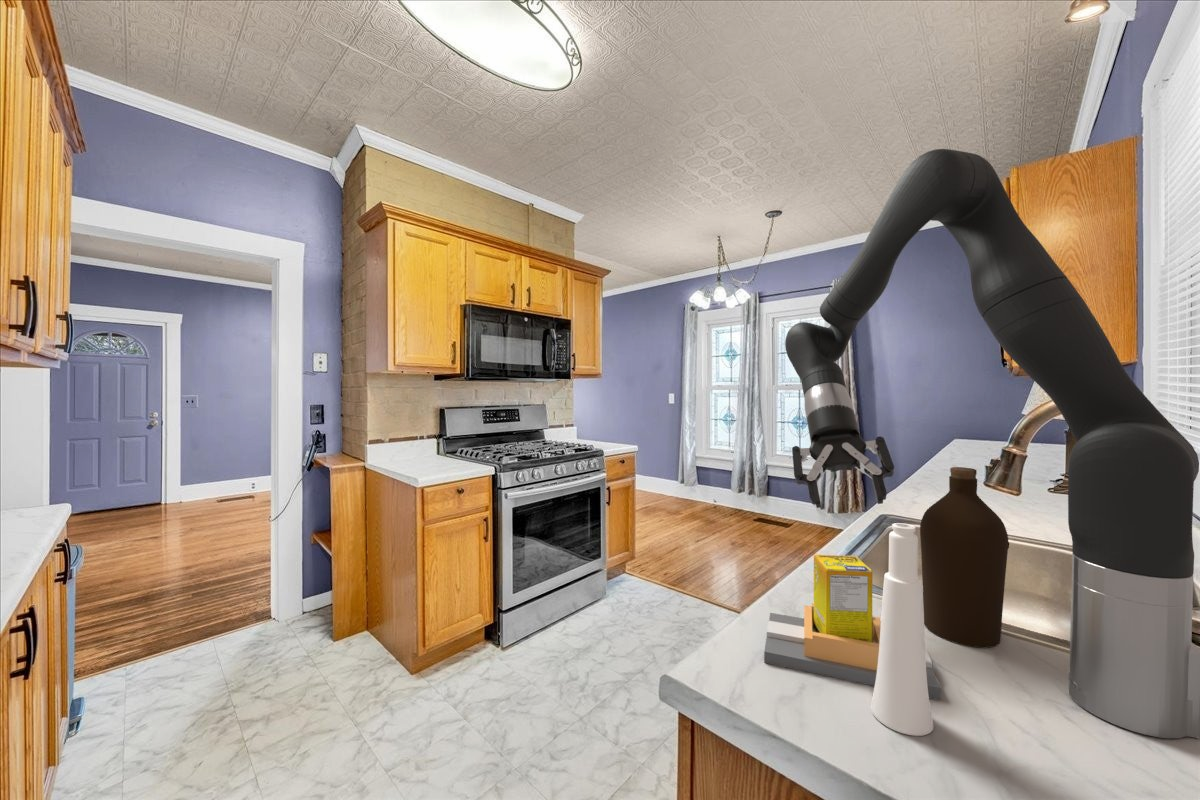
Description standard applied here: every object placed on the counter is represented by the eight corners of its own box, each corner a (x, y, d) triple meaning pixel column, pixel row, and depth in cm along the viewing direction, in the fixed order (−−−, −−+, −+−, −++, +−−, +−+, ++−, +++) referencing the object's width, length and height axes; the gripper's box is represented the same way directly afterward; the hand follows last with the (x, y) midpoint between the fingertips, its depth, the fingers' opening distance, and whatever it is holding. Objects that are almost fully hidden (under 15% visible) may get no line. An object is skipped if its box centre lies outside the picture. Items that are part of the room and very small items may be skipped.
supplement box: (855, 629, 69) (855, 554, 69) (873, 652, 63) (874, 570, 63) (812, 626, 70) (812, 553, 70) (825, 649, 64) (826, 568, 64)
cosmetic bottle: (939, 743, 50) (943, 536, 49) (874, 727, 52) (876, 529, 52) (926, 707, 55) (929, 521, 55) (867, 694, 58) (869, 515, 57)
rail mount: (918, 648, 68) (918, 617, 68) (940, 700, 57) (941, 663, 57) (770, 621, 76) (770, 594, 76) (764, 662, 65) (764, 629, 65)
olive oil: (953, 651, 67) (956, 475, 66) (903, 615, 78) (905, 463, 77) (1026, 650, 67) (1030, 474, 66) (966, 614, 78) (969, 462, 77)
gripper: (783, 410, 82) (797, 498, 73) (877, 396, 77) (904, 490, 67) (788, 431, 88) (801, 516, 78) (876, 420, 82) (901, 510, 73)
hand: (849, 504), depth 73 cm, fingers open, 8 cm apart
